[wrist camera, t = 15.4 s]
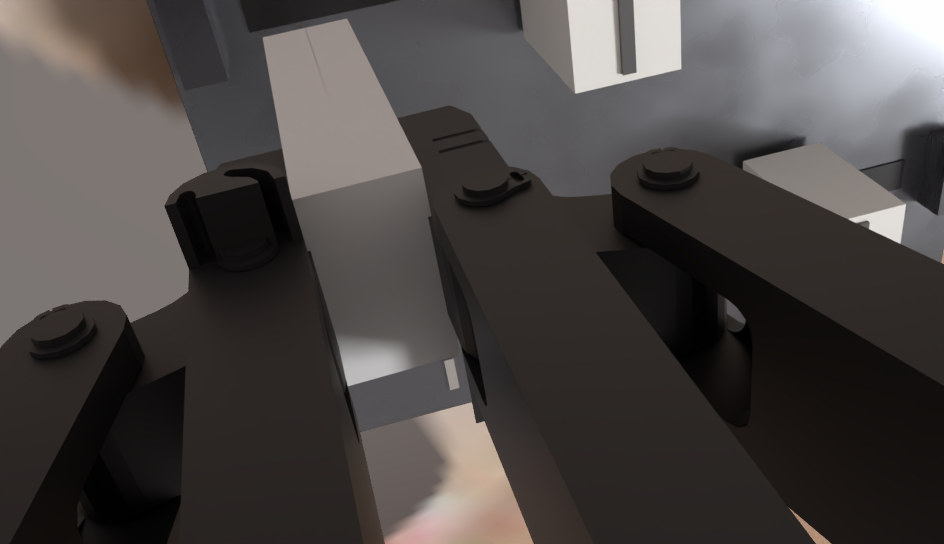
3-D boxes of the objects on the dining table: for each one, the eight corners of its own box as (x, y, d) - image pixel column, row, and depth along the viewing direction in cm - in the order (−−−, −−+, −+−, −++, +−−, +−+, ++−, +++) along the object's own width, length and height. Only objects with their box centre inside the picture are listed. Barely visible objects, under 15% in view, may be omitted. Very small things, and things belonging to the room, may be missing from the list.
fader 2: (739, 274, 28) (810, 351, 24) (742, 161, 25) (821, 228, 22) (810, 255, 28) (889, 329, 24) (819, 142, 26) (908, 205, 22)
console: (300, 405, 29) (307, 469, 27) (93, -195, 19) (72, -184, 17) (901, 247, 32) (958, 291, 29) (992, -362, 22) (1089, -373, 19)
